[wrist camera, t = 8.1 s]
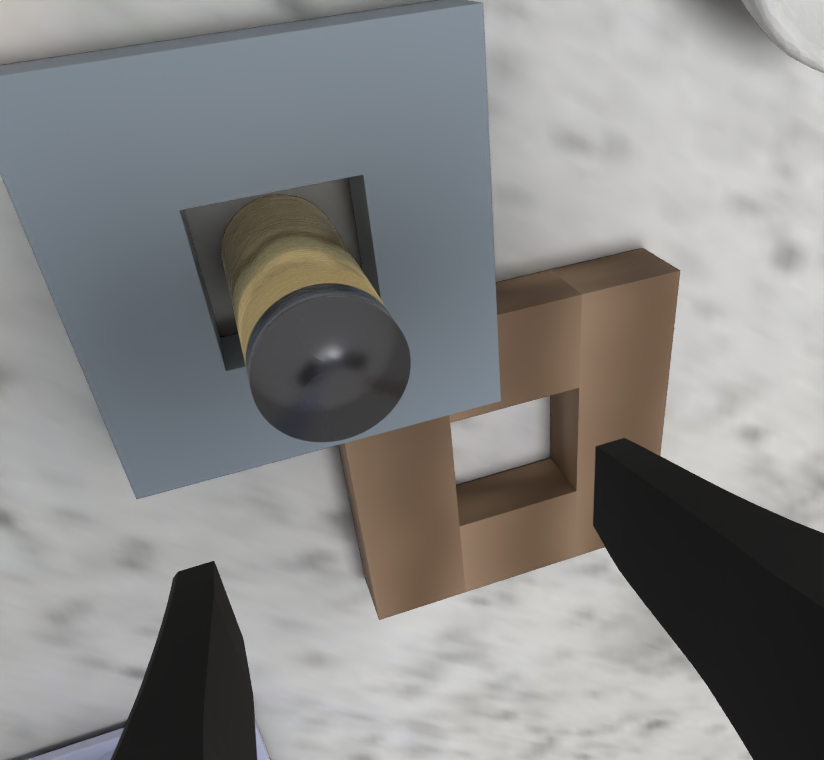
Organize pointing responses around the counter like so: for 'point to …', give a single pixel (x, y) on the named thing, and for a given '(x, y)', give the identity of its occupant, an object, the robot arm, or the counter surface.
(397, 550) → the mount block
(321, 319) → the pin
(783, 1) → the spoon rest
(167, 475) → the socket block
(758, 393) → the counter surface
